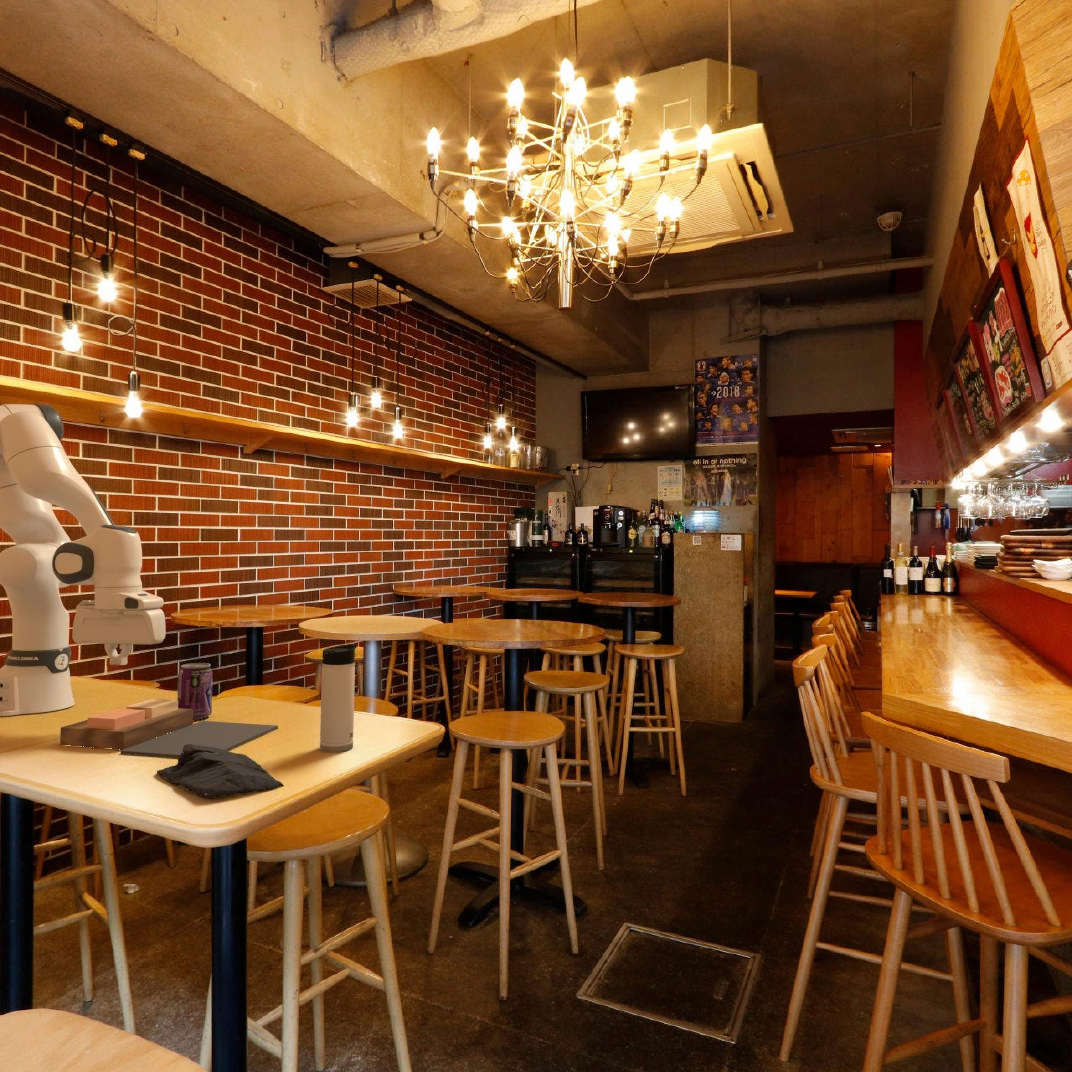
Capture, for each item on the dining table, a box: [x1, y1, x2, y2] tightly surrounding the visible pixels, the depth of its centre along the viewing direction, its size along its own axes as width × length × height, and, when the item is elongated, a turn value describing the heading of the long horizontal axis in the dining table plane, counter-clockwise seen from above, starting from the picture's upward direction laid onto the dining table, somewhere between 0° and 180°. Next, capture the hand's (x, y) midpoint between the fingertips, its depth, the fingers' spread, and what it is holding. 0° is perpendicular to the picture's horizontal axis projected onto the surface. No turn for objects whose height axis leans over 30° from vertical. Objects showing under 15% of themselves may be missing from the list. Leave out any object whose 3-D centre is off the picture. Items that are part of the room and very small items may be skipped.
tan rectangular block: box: [125, 698, 178, 718], centre depth 149 cm, size 6×8×2 cm
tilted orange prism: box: [87, 708, 145, 730], centre depth 139 cm, size 6×8×2 cm
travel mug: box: [319, 643, 357, 753], centre depth 138 cm, size 6×7×20 cm
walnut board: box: [59, 708, 194, 751], centre depth 145 cm, size 14×20×4 cm
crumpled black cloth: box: [156, 744, 285, 799], centre depth 118 cm, size 15×22×5 cm
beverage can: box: [176, 662, 214, 721], centre depth 160 cm, size 7×7×12 cm
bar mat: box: [120, 720, 279, 759], centre depth 142 cm, size 18×24×1 cm
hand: (118, 664), depth 151 cm, fingers closed
